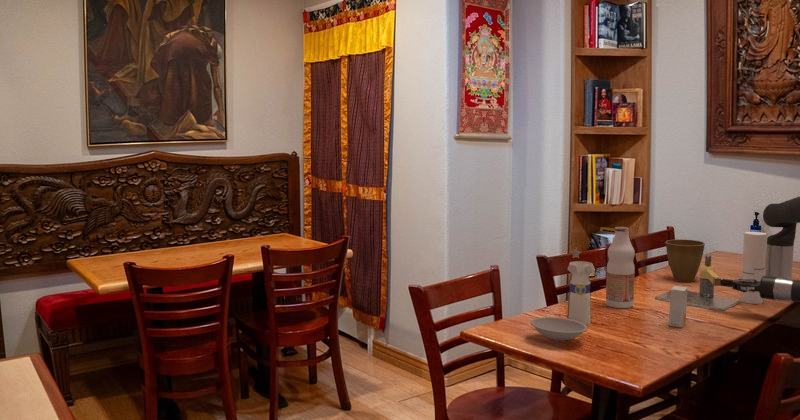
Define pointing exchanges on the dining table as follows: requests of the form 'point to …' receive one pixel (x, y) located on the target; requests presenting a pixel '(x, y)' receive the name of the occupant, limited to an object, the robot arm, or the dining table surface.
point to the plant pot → (684, 258)
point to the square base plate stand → (704, 295)
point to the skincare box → (678, 306)
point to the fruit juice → (620, 271)
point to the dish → (558, 327)
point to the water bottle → (580, 290)
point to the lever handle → (710, 274)
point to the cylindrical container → (753, 263)
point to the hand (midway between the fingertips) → (721, 282)
